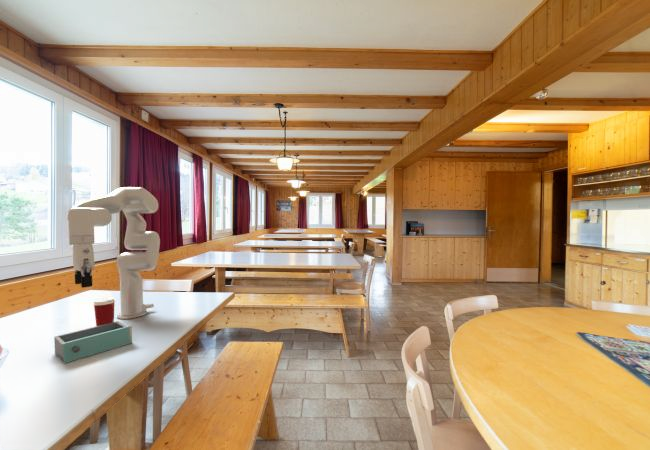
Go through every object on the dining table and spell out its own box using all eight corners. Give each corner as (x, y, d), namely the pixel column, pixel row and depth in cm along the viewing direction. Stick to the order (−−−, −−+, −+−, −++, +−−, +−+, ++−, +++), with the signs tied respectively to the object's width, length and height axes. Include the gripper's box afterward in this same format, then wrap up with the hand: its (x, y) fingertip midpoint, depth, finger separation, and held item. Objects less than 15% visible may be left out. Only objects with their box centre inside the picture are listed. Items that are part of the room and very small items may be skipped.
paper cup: (120, 329, 133) (119, 297, 133) (102, 336, 126) (101, 302, 125) (107, 328, 136) (106, 296, 135) (89, 334, 128) (88, 301, 128)
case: (118, 335, 127) (117, 321, 127) (129, 342, 119) (128, 327, 119) (55, 352, 111) (54, 336, 111) (63, 362, 104) (62, 344, 104)
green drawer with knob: (131, 341, 120) (131, 325, 119) (134, 343, 118) (133, 326, 118) (63, 362, 103) (62, 343, 103) (65, 364, 102) (64, 345, 102)
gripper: (100, 240, 114) (102, 286, 114) (88, 239, 125) (89, 280, 125) (74, 241, 108) (76, 290, 108) (64, 240, 119) (65, 284, 120)
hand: (83, 285), depth 117 cm, fingers open, 9 cm apart
